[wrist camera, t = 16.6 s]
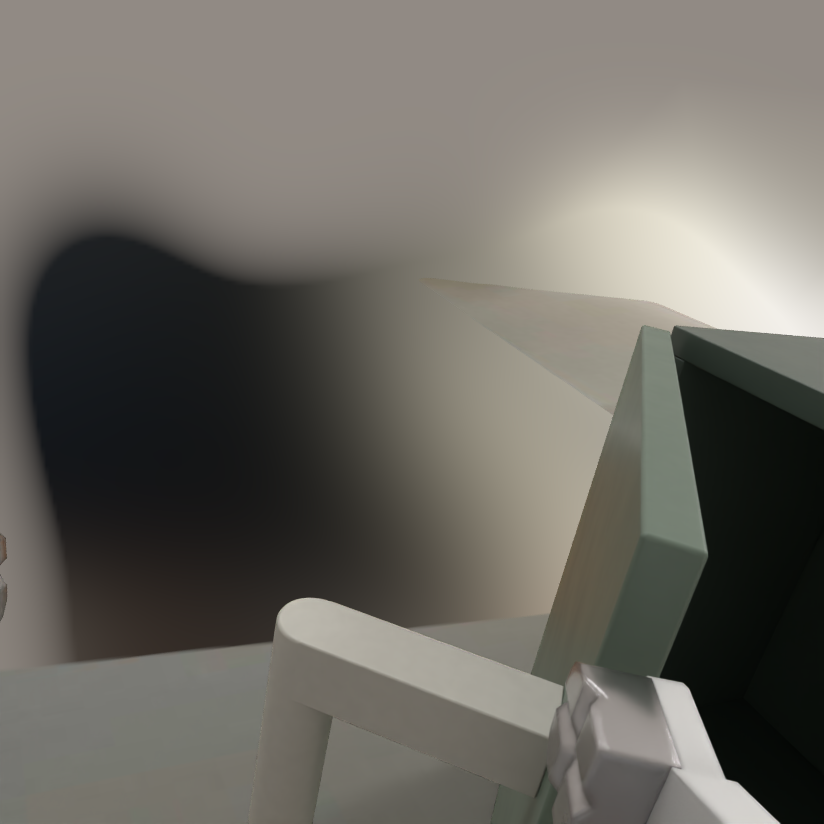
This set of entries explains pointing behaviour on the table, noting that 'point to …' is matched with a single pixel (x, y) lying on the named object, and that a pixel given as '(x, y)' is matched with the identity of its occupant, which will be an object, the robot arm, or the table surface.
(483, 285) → the table surface
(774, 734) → the green cabinet
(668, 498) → the cabinet door
